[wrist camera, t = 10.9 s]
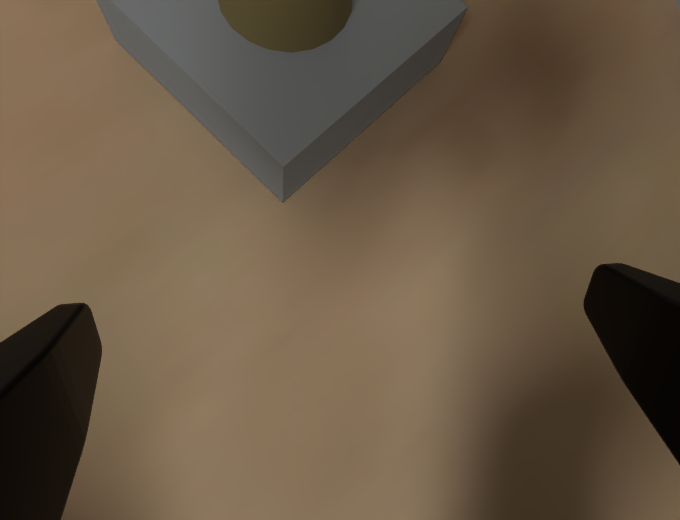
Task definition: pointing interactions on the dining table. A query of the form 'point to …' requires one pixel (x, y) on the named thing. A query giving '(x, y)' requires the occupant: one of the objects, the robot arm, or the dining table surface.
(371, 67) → the podium
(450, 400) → the dining table surface
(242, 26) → the cork
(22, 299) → the dining table surface
